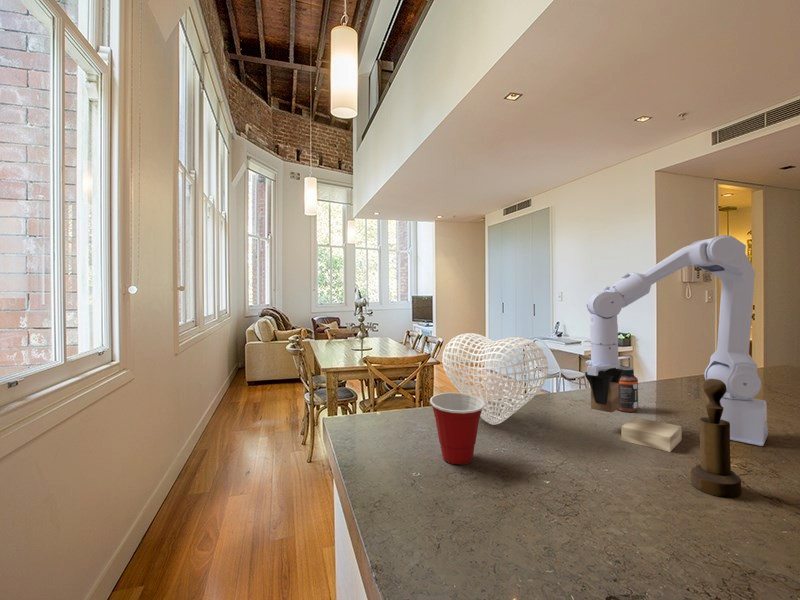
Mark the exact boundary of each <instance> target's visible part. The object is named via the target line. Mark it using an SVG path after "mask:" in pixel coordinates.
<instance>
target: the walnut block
mask: <svg viewBox="0 0 800 600" xmlns="http://www.w3.org/2000/svg"><path fill="white" fill-rule="evenodd" d="M590 409H591V410H596V411H601V412H607V413H611V414H612V413H614V412H615V411H618V410H617V409H619V387H618V383H615V382H610V385H609V389H608V397H607V402H606V404H605V405H604V404H598V403H596V402H595V399H594V395H593V391H592V388H591V387H590Z"/></svg>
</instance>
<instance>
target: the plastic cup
mask: <svg viewBox="0 0 800 600" xmlns="http://www.w3.org/2000/svg"><path fill="white" fill-rule="evenodd" d="M465 393H466V392H464V393H460V392H452V391H451V392H441V393H439V394H434V395H432V396H431V397H430V400H429V403H430V405H431V407H432V408H433V409H432V411H433V413H434V418H435V423H436V430H437V436H438V440H439V445H440V449H441V455H442V459H443V460H444V462H445V461H447V462H448V464H450V463H451V464H450V465H454V464H463V465H467V464H470V463H471V462H472V461H473V457H474V451H475V445H476V441H477V435H478V428H479V422H480V419H481V416H480V414H481V412H482V411H483V410H482V409H483V408H484V407H485V406H486V405H485V402H484V400H482V399H481V397H480V398H479V397H477V396H476V395H474V394H473V395H471V394H465ZM447 462H446V463H447Z"/></svg>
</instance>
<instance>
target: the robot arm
mask: <svg viewBox="0 0 800 600" xmlns="http://www.w3.org/2000/svg"><path fill="white" fill-rule="evenodd" d="M746 249H747V246H746V244H744V243H743V241H741V240H739V239H737V238H736V237H735V236H732V235H728V234H721V235H717V236H715V237H712V238H711V237H710V238H708V239H707V238H706V239H700V240H696V241H693V242H692V243H691V244H690V245H689V244H688V245H686V246H684V247H682V248H680V249H678V250H676V251H675V252H673V253H672V254H670V255H668V256H667V257H665V258H664V259H663V260H661V261H659V262H658V263H657V264H655V265H653V266H652V267H650V268H649V269H647V270H645V271H644V272H642V273H639V272H632V273H629V272H628V273H624V274H623V275H621V278H622V279H620V280H618V281H616V282H615V283H613V284H612V285H610V286H609V285H605V286H604V287H603V291H602V292H596V293H593V295H591V296H590V297H589V300H588V301H587V303H586V308H587V311H588V313H589V314H590V324H589V325H590V326H589V329H590V331H589V332H590V359H588V360H586V361H585V364H587V365H588V366H587V369H586V370H587V371H586V372H584V377H585V378H586V380H587V381H588V383H589V385H590V389H591V388H592V391H593V395H594V399H595V402H596V403H598V404H604V405H605V404H606V402H607V397H608V389H609V385H610V382H615V383H619V380H620V378H621V376H622V375H623V373H624V370H623V369H617V368H618V367H621V358H619V329H618V328H619V324H618V315H619V314H620V312H621V311H622V309H624V308H625V307H628V306H629V305H632V304H633V303H634V302H636V301H637V300H640V299H642V298H643V297H644V296H647V295H648V294H649V293H650V291H651V288H652V285H654V284H656V283H658V282H659V281H661V280H663V279H665V278H667V277H669V276H670V275H672V274H674V273H676V272H678V271H680V270H681V269H684V268H685V267H692V266H695V267H697V268H700V269H702V270H705V271H707V272H710V273H711V275H714V276H715V277H716V278H717V279H719V280H720V281H721V286H720V287H721V288H720V289H721V290H720V301H719V302H720V303H719V317H718V318H719V319H718V331H717V343H716V344H717V345H716V350H715V351H714V352H713V353H712V354H711V356H710V357H709V359H710V360H709V364H708V366H707V367H706V368H705V370H704V379H705V381H706V380H707V379H718V380H721V381H723V382H724V383H725V385H726V388H727V390H726V393H725V394H724V396H723V397H722V398H721V400H720V404H721V406H722V407H723V413H722V416H721V419H722V420H725V421H728V422H729V423H730V441H734V442H738V443H739V442H740V443H745V444H750V445H754V446H759V447H764V445H765V442H766V440H767V437H768V435H769V427H768V423H767V422H768V415H767V414H768V413H767V412H768V409H767V408H768V407H767V401H766V400H764V399H758V398H755V396H757V395H758V393H759V392H760V391H761V388H762V380H761V377H759V374H758V365H757V363H756V361H755V360H754V358H753V357H752V356H751V355H750V344H751V342H750V341H751V333H752V331H751V329H752V317H753V314H752V313H753V304H754V302H753V301H754V292H755V291H754V289H755V288H754V287H755V279H756V278H755V277H756V274H755V273H756V272H755V270H754V269H755V268H754V267H753V265H752V263H751V261H750V260H749V257H748V256H747V254H746V252H747V250H746Z"/></svg>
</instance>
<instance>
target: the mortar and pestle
mask: <svg viewBox="0 0 800 600" xmlns="http://www.w3.org/2000/svg"><path fill="white" fill-rule="evenodd" d="M702 389H703V391H704V393H705V395H706V396H707V397H708V404H706V405H705V411H706V413H707V416H708V417H700V418H699V420H698V421H699V424H698V425H699V453H700V454H699V457H700V458H699V461H700V463H698V464H697V465H695V466H693V467H691V469H690V482H691V483H690V484H691V485H692V487H694V488H695V489H697V490H698V491H700V492H702V493H705V494H708V495H711V496H717V497H720V498H721V497H722V498H738V497H740V496H741V495H742V479H741V477H740V476H739V475H737V474H736V473H735V471H733V470H732V468H731V467H732V466H731V465H732V464H731V463H732V462H731V440H730V423H729V422H728V421H725V420H722V419H721V416H722V413H723V407H722V406H721V404H720V400H721V398H722V397H723V396H724V394H725V393H726V390H727V388H726V385H725V383H724V382H723V381H721V380H718V379H707V380H705V381H704V382H703V384H702Z"/></svg>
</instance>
